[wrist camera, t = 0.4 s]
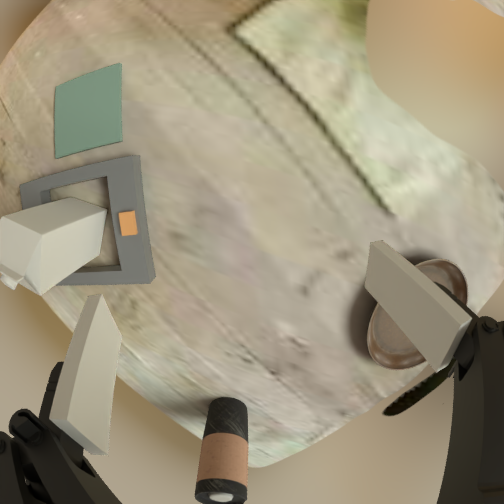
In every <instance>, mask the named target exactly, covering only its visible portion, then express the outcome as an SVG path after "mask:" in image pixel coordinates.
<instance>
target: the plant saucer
mask: <svg viewBox="0 0 504 504" xmlns="http://www.w3.org/2000/svg"><path fill="white" fill-rule="evenodd" d="M414 266H415V267H416V268H417V269H418V270H420V271H421V272H422V273H423V274H424V275H426V276H427V277H428V278H429V279H430V280H431V281H432V282H437V283H439V284H441V285H443V286H445V287H446V288H447V289H448V290H450V291H451V292H452V294H454V295H455V296H456V297H457V298H458V299H460V300H461V301H462V302H463V303H464V304H465V305H466V306H467V302H468V285H467V281H466V277H465V275H464V273H463V271H462V270H461V269H460V268H459V267H458V266H457V265H456V264H455V263H453V262H451V261H449V260H445V259H431V260H427V261H424V262H421V263H418V264H416V265H414ZM367 345H368V350H369V353H370V355H371V357H372V359H373V360H374V361H375V362H376V363H377V364H378V365H380V366H382V367H384V368H386V369H390V370H405V369H409V368H413V367H416V366H418V365H420V364H422V363H424V362H426V361H427V360H426V359H425V358H424V357H423V355H422V354H421V353H420V352H419V350H418V349H417V348H416V347H415V345H414V344H413V343H412V342H411V341H410V339H409V338H408V337H407V336H406V335H405V333H404V332H403V331H402V330H401V329H400V327H399V326H398V325H397V324H396V323H395V321H394V320H393V319H392V318H391V317H390V316H389V314H388V313H387V312H386V311H385V310H384V309H383V308H382V306H381V305H380V304H379V303H378V302H377V304H376V306H375V308H374V310H373V312H372V315H371V318H370V322H369V326H368V332H367Z"/></svg>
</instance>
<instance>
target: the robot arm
mask: <svg viewBox="0 0 504 504" xmlns="http://www.w3.org/2000/svg"><path fill="white" fill-rule="evenodd" d="M364 287H365V288H366V289H367V291H368V292H369V293H370V294H371V295H372V296H373V297H374V298H375V300H376V301H377V302H378V303H379V304H380V305H381V306H382V308H383V309H384V310H385V311H386V312H387V313H388V314H389V316H390V317H391V318H392V319H393V320H394V321H395V323H396V324H397V325H398V326H399V327H400V329H401V330H402V331H403V332H404V333H405V335H406V336H407V337H408V338H409V339H410V341H411V342H412V343H413V344H414V345H415V347H416V348H417V349H418V350H419V352H420V353H421V354H422V355H423V357H424V358H425V359H426V360H427V362H428V363H429V364H430V365H431V367H432V368H433V369H434V370H435V372H438V371H440V370H441V369H443V368H445V367H446V366H448V364H449V363H450V361H451V359H452V357H453V356H454V357H455V359H456V362H455V364H454V365H453V367H452V369H451V370H450V372H449V374H448V377H450V376H451V375H452V373H453V372H454V376H453V378H454V400H453V415H452V426H451V435H450V442H449V449H448V455H447V461H446V466H445V472H444V476H443V481H442V485H441V489H440V493H439V497H438V501H437V504H504V321H501V322H497V321H496V320H494V319H493V318H491V317H488V316H482V317H480V318H479V317H478V316H477V315H476V314H475V313H473V312H472V311H471V310H470V309H469V308H468V307H467V306H466V305H465V304H464V303H463V302H462V301H461V300H460V299H458V298H457V297H456V296H455V295H454V294H452V292H451V291H450V290H448V289H447V288H446V287H445V286H443V285H441V284H439V283H437V282H432V281H431V280H430V279H429V278H428V277H427V276H426V275H424V274H423V273H422V272H421V271H420V270H418V269H417V268H416V267H415V266H414V265H413V264H411V263H410V262H409V261H408V260H406V259H405V258H404V257H403V256H402V255H400V254H399V253H398V252H397V251H395V250H394V249H393V248H392V247H390V246H389V245H388V244H387V243H385V242H384V241H383V240H380V241H376V242H371V243H370V250H369V258H368V266H367V273H366V280H365V286H364ZM121 341H122V335H121V333H120V331H119V329H118V327H117V325H116V323H115V321H114V319H113V317H112V315H111V313H110V311H109V309H108V306H107V304H106V302H105V300H104V298H103V295H102V294H98V295H92V296H88V298H87V300H86V302H85V305H84V307H83V310H82V312H81V315H80V318H79V320H78V323H77V326H76V328H75V331H74V334H73V337H72V339H71V342H70V345H69V348H68V351H67V354H66V357H65V361H64V362H58V363H57V364H56V366H55V367H54V368H53V370H52V372H51V374H50V377H49V381H48V382H49V384H47V387H46V392H45V394H44V398H43V402H42V406H41V410H40V414H39V418H38V417H36V416H35V415H34V414H33V413H32V412H31V411H30V410H28V409H21V410H18V411H17V412H15V413H14V415H12V417H11V419H10V423H9V432H10V434H12V435H13V436H14V438H11V437H10V436H9V435H7V434H6V433H4V432H2V431H0V504H122V503H121V502H120V501H119V500H118V498H117V497H116V496H115V495H114V494H113V493H112V491H111V490H110V489H109V488H108V486H107V485H106V484H105V483H104V481H103V480H102V479H101V478H100V476H99V475H98V474H97V472H96V471H95V470H94V468H93V467H92V466H91V464H90V463H89V461H88V460H87V459H86V458H85V457H84V456H83V449H85V450H87V451H88V452H89V453H91V454H94V455H108V451H109V450H108V449H109V434H110V422H111V411H112V401H113V392H114V385H115V378H116V371H117V364H118V358H119V352H120V346H121ZM25 479H26V481H25Z"/></svg>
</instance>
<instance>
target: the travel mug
mask: <svg viewBox="0 0 504 504" xmlns="http://www.w3.org/2000/svg"><path fill="white" fill-rule="evenodd" d="M247 476H248V414H247V407H246V405H245V404H244V403H243V402H241V401H240V400H237V399H234V398H228V397H225V398H219V399H216V400H214V401H213V402H212V403H211V404H210V407H209V411H208V416H207V420H206V425H205V430H204V435H203V440H202V447H201V454H200V461H199V468H198V475H197V482H196V490H195V499H196V500H197V501H199V502H201V503H203V504H243V503H244V502H245V501H246V500H247Z"/></svg>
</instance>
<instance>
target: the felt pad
mask: <svg viewBox="0 0 504 504" xmlns="http://www.w3.org/2000/svg"><path fill="white" fill-rule="evenodd" d="M121 70H122V64H121V63H118V64H114V65H111V66H108V67H105V68H102V69H99V70H97V71H94V72H91V73H88V74H86V75H83V76H80V77H78V78H75V79H73V80H71V81H68V82H66V83H63V84H61V85H59V86H57V87H56V92H55V157H56V159H58V158H61V157H64V156H68V155H71V154H74V153H78V152H81V151H85V150H89V149H93V148H96V147H100V146H104V145H108V144H113V143H117V142H122V121H121Z"/></svg>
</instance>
